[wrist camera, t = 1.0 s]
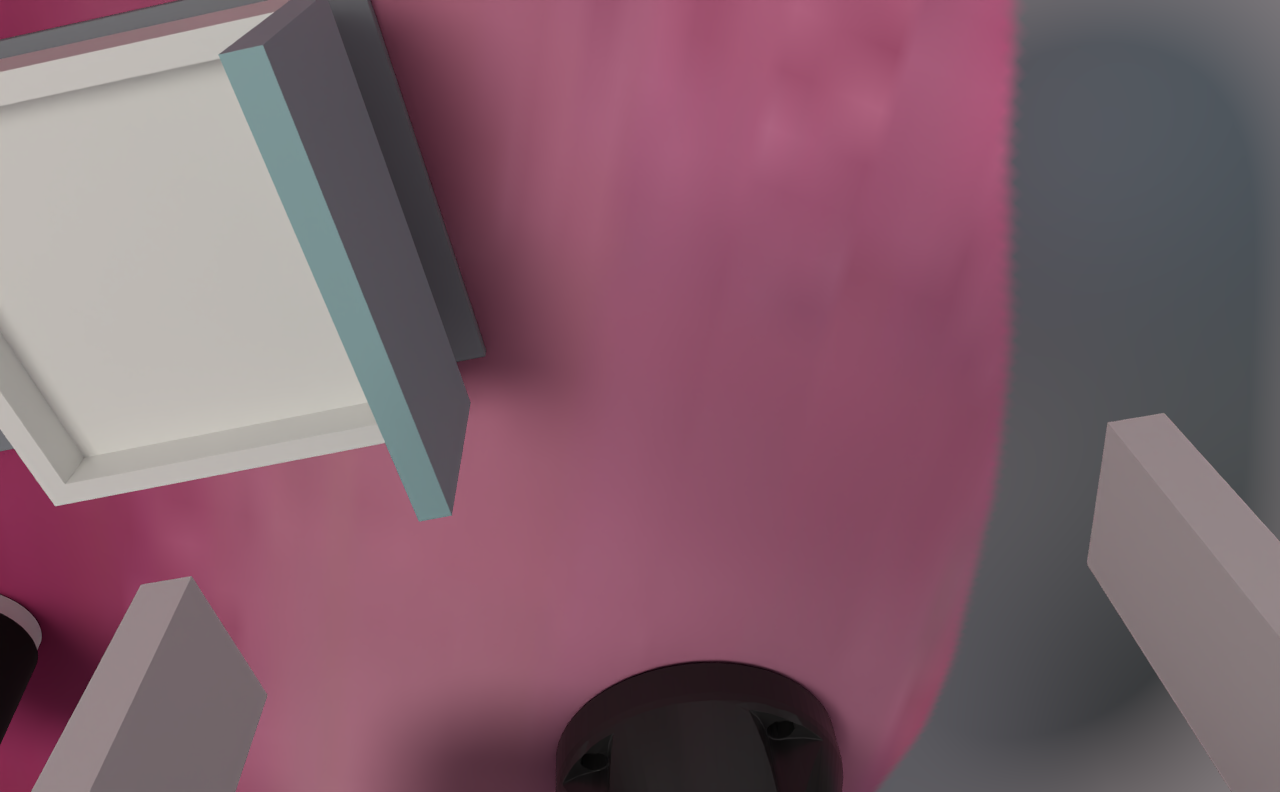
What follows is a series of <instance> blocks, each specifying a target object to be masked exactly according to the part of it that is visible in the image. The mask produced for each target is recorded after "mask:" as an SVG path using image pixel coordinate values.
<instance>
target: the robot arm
mask: <svg viewBox="0 0 1280 792" xmlns="http://www.w3.org/2000/svg"><path fill="white" fill-rule="evenodd" d="M1087 565H1088V566H1089V568H1090V570H1091V571H1092V573H1093V574H1094V576H1095V577H1096V579H1097V580H1098V582H1099V584H1100V585H1101V587H1102V589H1103V590H1104V592H1105V593H1106V595H1107V596H1108V598H1109V600H1110V601H1111V602H1112V604H1113V606H1114V607H1115V609H1116V611H1117V612H1118V614H1119V615H1120V617H1121V618H1122V620H1123V622H1124V623H1125V625H1126V626H1127V628H1128V630H1129V631H1130V633H1131V634H1132V636H1133V637H1134V639H1135V641H1136V642H1137V644H1138V645H1139V647H1140V648H1141V650H1142V652H1143V653H1144V655H1145V656H1146V658H1147V659H1148V661H1149V663H1150V664H1151V666H1152V667H1153V669H1154V671H1155V672H1156V674H1157V675H1158V677H1159V678H1160V680H1161V682H1162V683H1163V684H1164V686H1165V688H1166V689H1167V691H1168V693H1169V694H1170V696H1171V697H1172V699H1173V700H1174V702H1175V704H1176V705H1177V707H1178V708H1179V710H1180V712H1181V713H1182V715H1183V716H1184V718H1185V719H1186V721H1187V723H1188V724H1189V726H1190V727H1191V729H1192V730H1193V732H1194V734H1195V735H1196V737H1197V738H1198V740H1199V741H1200V743H1201V745H1202V746H1203V748H1204V749H1205V751H1206V753H1207V754H1208V756H1209V757H1210V759H1211V761H1212V762H1213V764H1214V765H1215V767H1216V768H1217V770H1218V772H1219V773H1220V775H1221V776H1222V778H1223V779H1224V781H1225V782H1226V784H1227V786H1228V787H1229V789H1230V791H1231V792H1280V542H1279V540H1278V539H1277V538H1276V537H1275V536H1274V535H1273V534H1272V532H1271V531H1270V530H1269V529H1268V528H1267V527H1266V526H1265V525H1264V524H1263V523H1262V521H1261V520H1260V519H1259V518H1258V517H1257V516H1256V515H1255V514H1254V513H1253V511H1252V510H1251V509H1250V508H1249V507H1248V506H1247V505H1246V504H1245V502H1244V501H1243V500H1242V499H1241V498H1240V497H1239V496H1238V495H1237V494H1236V492H1235V491H1234V490H1233V489H1232V488H1231V487H1230V486H1229V485H1228V483H1227V482H1226V481H1225V480H1224V479H1223V478H1222V477H1221V476H1220V475H1219V474H1218V472H1217V471H1216V470H1215V469H1214V468H1213V467H1212V466H1211V465H1210V464H1209V462H1208V461H1207V460H1206V459H1205V458H1204V457H1203V456H1202V455H1201V453H1200V452H1199V451H1198V450H1197V449H1196V448H1195V447H1194V446H1193V445H1192V443H1190V441H1189V440H1188V439H1187V438H1186V437H1185V436H1184V435H1183V433H1182V432H1181V431H1180V430H1179V429H1178V428H1177V427H1176V426H1175V425H1174V424H1173V422H1172V421H1171V420H1170V419H1169V418H1168V417H1167V416H1166V415H1165V413H1161V414H1155V415H1149V416H1143V417H1137V418H1131V419H1125V420H1120V421H1113V422H1108V424H1107V430H1106V437H1105V444H1104V451H1103V457H1102V465H1101V471H1100V478H1099V485H1098V492H1097V498H1096V505H1095V512H1094V519H1093V526H1092V532H1091V539H1090V546H1089V552H1088V559H1087ZM266 698H267V693H266V692H265V690H264V689H263V687H262V686H261V684H260V683H259V681H258V679H257V678H256V676H255V675H254V673H253V672H252V670H251V668H250V667H249V665H248V664H247V662H246V661H245V659H244V657H243V656H242V654H241V653H240V651H239V650H238V648H237V647H236V645H235V643H234V642H233V640H232V639H231V637H230V636H229V634H228V632H227V631H226V629H225V628H224V626H223V625H222V623H221V621H220V620H219V618H218V617H217V615H216V614H215V612H214V611H213V609H212V607H211V606H210V604H209V603H208V601H207V600H206V598H205V596H204V595H203V593H202V592H201V590H200V589H199V587H198V585H197V584H196V582H195V581H194V579H193V578H192V576H190V577H184V578H178V579H172V580H166V581H160V582H154V583H149V584H143V585H141V586H140V588H139V590H138V591H137V593H136V595H135V597H134V599H133V601H132V603H131V605H130V606H129V608H128V610H127V612H126V614H125V616H124V618H123V620H122V622H121V623H120V625H119V627H118V629H117V631H116V633H115V635H114V637H113V639H112V640H111V642H110V644H109V646H108V648H107V650H106V652H105V654H104V655H103V657H102V659H101V661H100V663H99V665H98V667H97V669H96V671H95V672H94V674H93V676H92V678H91V680H90V682H89V684H88V686H87V688H86V689H85V691H84V693H83V695H82V697H81V699H80V701H79V703H78V704H77V706H76V708H75V710H74V712H73V714H72V716H71V718H70V720H69V721H68V723H67V725H66V727H65V729H64V731H63V733H62V735H61V737H60V738H59V740H58V742H57V744H56V746H55V748H54V750H53V752H52V753H51V755H50V757H49V759H48V761H47V763H46V765H45V767H44V769H43V770H42V772H41V774H40V776H39V778H38V780H37V782H36V784H35V786H34V787H33V789H32V791H31V792H235V791H236V788H237V785H238V782H239V779H240V776H241V773H242V770H243V767H244V764H245V761H246V758H247V755H248V752H249V749H250V746H251V743H252V740H253V737H254V734H255V731H256V728H257V725H258V722H259V719H260V716H261V713H262V710H263V707H264V704H265V701H266ZM842 784H843V768H842V760H841V755H840V752H839V748H838V744H837V741H836V737H835V733H834V730H833V726H832V723H831V720H830V718H829V715H828V714H827V712H826V710H825V709H824V707H823V706H822V705H821V703H820V702H819V701H818V700H817V699H816V698H815V697H814V696H813V695H812V694H811V693H810V692H808V691H807V690H806V689H804V688H803V687H801V686H800V685H798V684H797V683H795V682H793V681H791V680H789V679H787V678H785V677H783V676H780V675H778V674H775V673H772V672H769V671H766V670H762V669H759V668H754V667H749V666H743V665H736V664H725V663H698V664H687V665H679V666H672V667H667V668H662V669H658V670H654V671H651V672H647V673H644V674H641V675H638V676H635V677H633V678H630V679H628V680H625V681H623V682H621V683H619V684H617V685H615V686H613V687H611V688H609V689H608V690H606V691H604V692H602V693H601V694H599V695H598V696H597V697H595V698H594V699H592V700H591V701H590V702H589V703H587V704H586V705H585V706H584V707H583V708H582V709H581V710H580V711H579V712H578V713H577V714H576V715H575V716H574V717H573V719H572V720H571V721H570V722H569V724H568V725H567V727H566V728H565V730H564V732H563V734H562V736H561V739H560V741H559V744H558V748H557V754H556V792H842Z"/></svg>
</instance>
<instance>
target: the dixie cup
mask: <svg viewBox="0 0 1280 792" xmlns="http://www.w3.org/2000/svg"><path fill="white" fill-rule="evenodd" d="M41 639H42V633H41V629H40V626H39V624H38V622H37V621H36V619H35V618H34V617H33V615H32V614H31V613H30V612H29V611H28V610H26V609H25V608H24V607H23V606H21V605H20V604H18V603H17V602H15V601H13V600H11V599H9V598H7V597H5V596H2V595H0V744H1V742H2V740H3V737H4V735H5V733H6V731H7V728H8V726H9V724H10V722H11V720H12V717H13V715H14V713H15V711H16V708H17V706H18V704H19V702H20V700H21V697H22V695H23V693H24V691H25V689H26V686H27V684H28V682H29V680H30V677H31V675H32V673H33V671H34V669H35V666H36V664H37V660H38V651H37V650H38V647H39V645H40V643H41Z"/></svg>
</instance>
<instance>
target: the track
mask: <svg viewBox="0 0 1280 792" xmlns="http://www.w3.org/2000/svg"><path fill="white" fill-rule="evenodd" d="M263 1H267V0H178V1H173V2H169V3H164V4H160V5H155V6H151V7H146V8H141V9H137V10H132V11H128V12H123V13H119V14H114V15H110V16H105V17H101V18H96V19H92V20H87V21H83V22H78V23H74V24H69V25H65V26H60V27H56V28H51V29H46V30H42V31H37V32H33V33H28V34H24V35H19V36H15V37H10V38H6V39H1V40H0V59H3V58H8V57H13V56H17V55H22V54H26V53H31V52H35V51H40V50H44V49H49V48H54V47H58V46H63V45H67V44H72V43H76V42H81V41H85V40H90V39H94V38H99V37H104V36H108V35H113V34H117V33H122V32H126V31H131V30H135V29H140V28H145V27H149V26H154V25H158V24H163V23H167V22H172V21H176V20H181V19H185V18H190V17H195V16H199V15H204V14H208V13H213V12H217V11H222V10H226V9H231V8H236V7H240V6H245V5H249V4H254V3H258V2H263ZM328 2H329V5H330V8H331V10H332V13H333V16H334V19H335V22H336V25H337V27H338V30H339V33H340V36H341V39H342V41H343V44H344V47H345V50H346V53H347V56H348V58H349V61H350V64H351V67H352V70H353V72H354V75H355V78H356V81H357V84H358V87H359V89H360V92H361V95H362V98H363V101H364V103H365V106H366V109H367V112H368V115H369V118H370V120H371V123H372V126H373V129H374V132H375V135H376V137H377V140H378V143H379V146H380V149H381V151H382V154H383V157H384V160H385V163H386V166H387V168H388V171H389V174H390V177H391V180H392V182H393V185H394V188H395V191H396V194H397V197H398V199H399V202H400V205H401V208H402V211H403V213H404V216H405V219H406V222H407V225H408V228H409V230H410V233H411V236H412V239H413V242H414V245H415V247H416V250H417V253H418V256H419V259H420V261H421V264H422V267H423V270H424V273H425V276H426V278H427V281H428V284H429V287H430V290H431V292H432V295H433V298H434V301H435V304H436V307H437V309H438V312H439V315H440V318H441V321H442V323H443V326H444V329H445V332H446V335H447V338H448V340H449V343H450V346H451V349H452V352H453V355H454V357H455V360H456V362H458V361H464V360H469V359H474V358H479V357H484V356H485V355H486V349H485V346H484V343H483V340H482V337H481V334H480V331H479V328H478V325H477V322H476V319H475V316H474V312H473V309H472V306H471V303H470V300H469V297H468V294H467V291H466V288H465V285H464V282H463V279H462V276H461V273H460V270H459V267H458V264H457V261H456V258H455V255H454V252H453V249H452V246H451V243H450V240H449V237H448V234H447V231H446V228H445V225H444V222H443V219H442V216H441V213H440V210H439V207H438V204H437V201H436V197H435V194H434V191H433V188H432V185H431V182H430V179H429V176H428V173H427V170H426V167H425V164H424V161H423V158H422V155H421V152H420V149H419V146H418V143H417V140H416V137H415V134H414V131H413V128H412V125H411V122H410V119H409V116H408V113H407V110H406V107H405V104H404V101H403V98H402V95H401V92H400V89H399V86H398V82H397V79H396V76H395V73H394V70H393V67H392V64H391V61H390V58H389V55H388V52H387V49H386V46H385V43H384V40H383V37H382V34H381V31H380V28H379V25H378V22H377V19H376V16H375V13H374V10H373V7H372V4H371V1H370V0H328ZM9 449H14V448H13V446H12V445H11V444H10V442H9V441H8V439H7V438H6V437H5V435H4V434H3V432H2V431H1V430H0V451H4V450H9Z"/></svg>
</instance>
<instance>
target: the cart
mask: <svg viewBox="0 0 1280 792" xmlns="http://www.w3.org/2000/svg"><path fill="white" fill-rule="evenodd" d="M470 403H471V402H470V400H469V397H468V394H467V391H466V388H465V386H464V383H463V380H462V377H461V374H460V371H459V369H458V366H457V363H456V360H455V357H454V355H453V352H452V349H451V346H450V343H449V340H448V338H447V335H446V332H445V329H444V326H443V323H442V321H441V318H440V315H439V312H438V309H437V307H436V304H435V301H434V298H433V295H432V292H431V290H430V287H429V284H428V281H427V278H426V276H425V273H424V270H423V267H422V264H421V261H420V259H419V256H418V253H417V250H416V247H415V245H414V242H413V239H412V236H411V233H410V230H409V228H408V225H407V222H406V219H405V216H404V213H403V211H402V208H401V205H400V202H399V199H398V197H397V194H396V191H395V188H394V185H393V182H392V180H391V177H390V174H389V171H388V168H387V166H386V163H385V160H384V157H383V154H382V151H381V149H380V146H379V143H378V140H377V137H376V135H375V132H374V129H373V126H372V123H371V120H370V118H369V115H368V112H367V109H366V106H365V103H364V101H363V98H362V95H361V92H360V89H359V87H358V84H357V81H356V78H355V75H354V72H353V70H352V67H351V64H350V61H349V58H348V56H347V53H346V50H345V47H344V44H343V41H342V39H341V36H340V33H339V30H338V27H337V25H336V22H335V19H334V16H333V13H332V10H331V8H330V5H329V2H328V0H267V1H263V2H258V3H254V4H249V5H245V6H240V7H236V8H231V9H226V10H222V11H217V12H213V13H208V14H204V15H199V16H195V17H190V18H185V19H181V20H176V21H172V22H167V23H163V24H158V25H154V26H149V27H145V28H140V29H135V30H131V31H126V32H122V33H117V34H113V35H108V36H104V37H99V38H94V39H90V40H85V41H81V42H76V43H72V44H67V45H63V46H58V47H54V48H49V49H44V50H40V51H35V52H31V53H26V54H22V55H17V56H13V57H8V58H3V59H0V430H1V431H2V432H3V434H4V435H5V437H6V438H7V439H8V441H9V442H10V444H11V445H12V446H13V448H14V449H15V451H16V452H17V453H18V455H19V456H20V458H21V459H22V460H23V462H24V463H25V465H26V466H27V467H28V469H29V470H30V472H31V473H32V474H33V476H34V477H35V479H36V480H37V481H38V483H39V484H40V486H41V487H42V488H43V490H44V491H45V493H46V494H47V495H48V497H49V498H50V500H51V501H52V502H53V504H54V505H55V506H59V505H64V504H69V503H75V502H80V501H85V500H90V499H96V498H101V497H106V496H111V495H116V494H122V493H127V492H132V491H137V490H142V489H148V488H153V487H158V486H163V485H169V484H174V483H179V482H184V481H189V480H195V479H200V478H205V477H210V476H215V475H221V474H226V473H231V472H236V471H241V470H247V469H252V468H257V467H262V466H268V465H273V464H278V463H283V462H288V461H294V460H299V459H304V458H309V457H314V456H320V455H325V454H330V453H335V452H341V451H346V450H351V449H356V448H361V447H367V446H372V445H377V444H382V443H385V444H386V446H387V448H388V451H389V453H390V455H391V458H392V460H393V462H394V465H395V467H396V469H397V471H398V474H399V476H400V478H401V481H402V483H403V485H404V488H405V490H406V492H407V495H408V497H409V499H410V502H411V504H412V506H413V509H414V511H415V513H416V516H417V518H418V520H419V521H424V520H430V519H435V518H441V517H446V516H451V515H452V511H453V505H454V499H455V493H456V487H457V481H458V475H459V469H460V463H461V457H462V451H463V445H464V439H465V433H466V427H467V421H468V415H469V409H470Z"/></svg>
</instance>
